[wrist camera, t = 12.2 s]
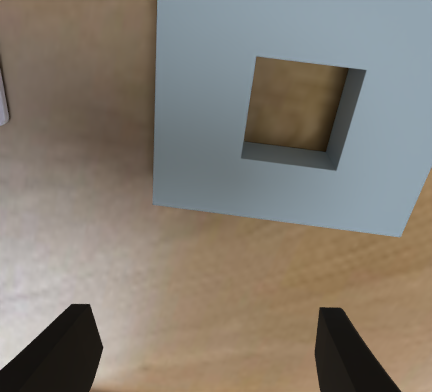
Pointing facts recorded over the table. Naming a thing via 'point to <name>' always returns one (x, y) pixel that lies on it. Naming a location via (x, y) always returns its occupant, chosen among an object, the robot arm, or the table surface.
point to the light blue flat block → (286, 156)
